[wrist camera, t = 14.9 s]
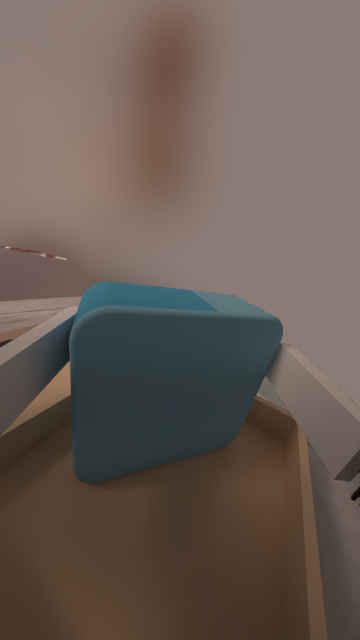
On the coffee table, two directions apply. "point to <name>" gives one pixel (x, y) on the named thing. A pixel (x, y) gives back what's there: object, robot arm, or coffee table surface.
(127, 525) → the mailer box
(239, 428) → the data package
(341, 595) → the coffee table surface
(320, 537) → the coffee table surface
